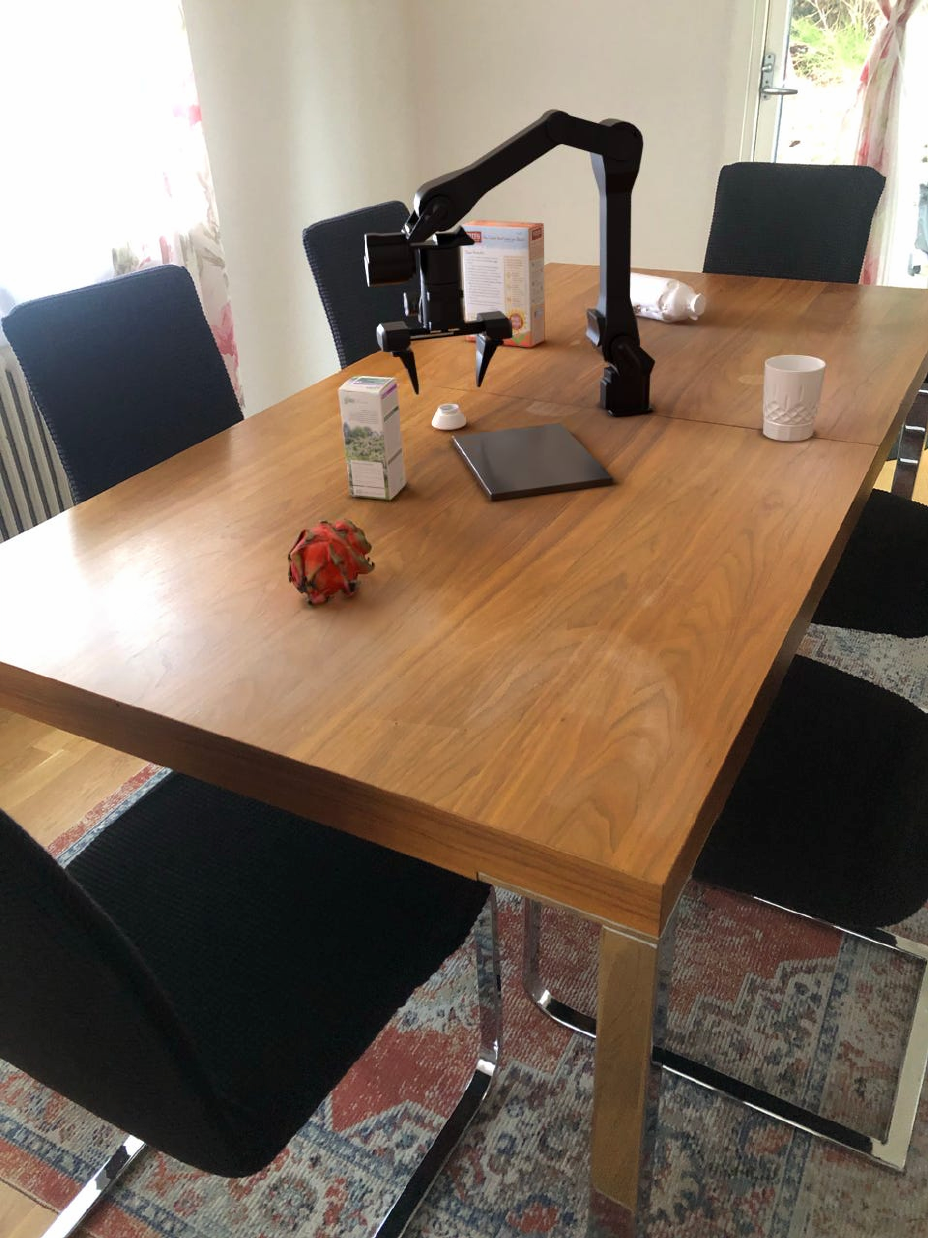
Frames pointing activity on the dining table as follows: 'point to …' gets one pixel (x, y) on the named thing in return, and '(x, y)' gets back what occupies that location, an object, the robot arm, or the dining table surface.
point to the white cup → (791, 396)
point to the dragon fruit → (329, 560)
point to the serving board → (530, 461)
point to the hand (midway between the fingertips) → (447, 390)
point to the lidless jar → (448, 417)
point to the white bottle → (664, 298)
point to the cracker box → (506, 276)
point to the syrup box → (372, 436)
